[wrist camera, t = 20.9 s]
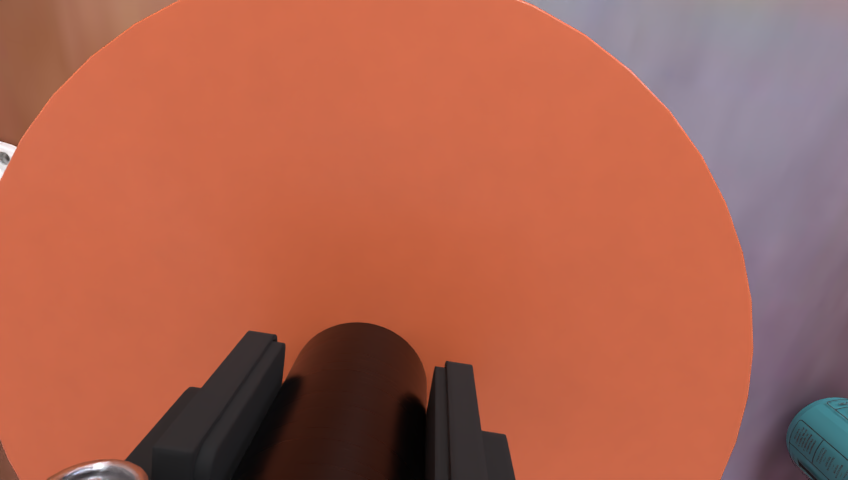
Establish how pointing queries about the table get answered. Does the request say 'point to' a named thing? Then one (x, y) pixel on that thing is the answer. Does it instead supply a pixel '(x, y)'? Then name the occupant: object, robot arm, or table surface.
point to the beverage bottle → (821, 439)
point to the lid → (371, 244)
